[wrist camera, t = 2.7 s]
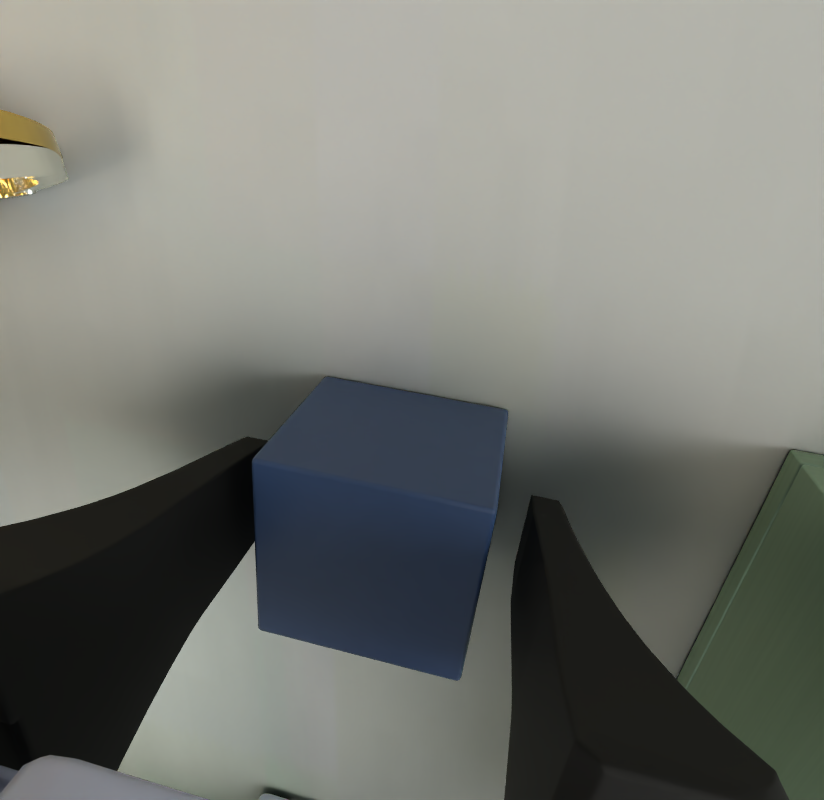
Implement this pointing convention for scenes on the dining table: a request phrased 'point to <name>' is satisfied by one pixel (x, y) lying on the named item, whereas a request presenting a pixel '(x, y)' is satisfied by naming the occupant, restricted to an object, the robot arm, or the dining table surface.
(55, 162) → the gold ring
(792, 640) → the washer
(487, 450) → the navy cube
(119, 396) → the dining table surface
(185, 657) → the dining table surface
